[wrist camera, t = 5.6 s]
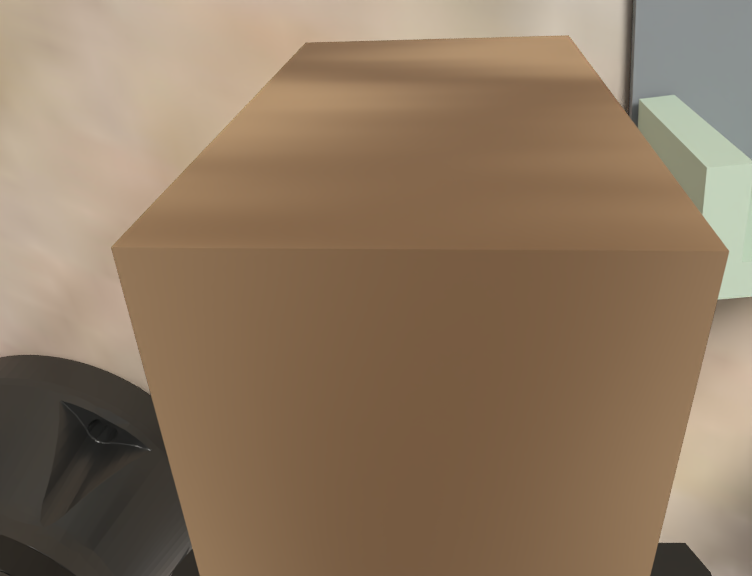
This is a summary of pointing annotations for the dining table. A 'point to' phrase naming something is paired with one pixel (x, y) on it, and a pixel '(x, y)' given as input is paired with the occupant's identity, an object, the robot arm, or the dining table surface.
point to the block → (424, 318)
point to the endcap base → (696, 61)
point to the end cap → (706, 180)
